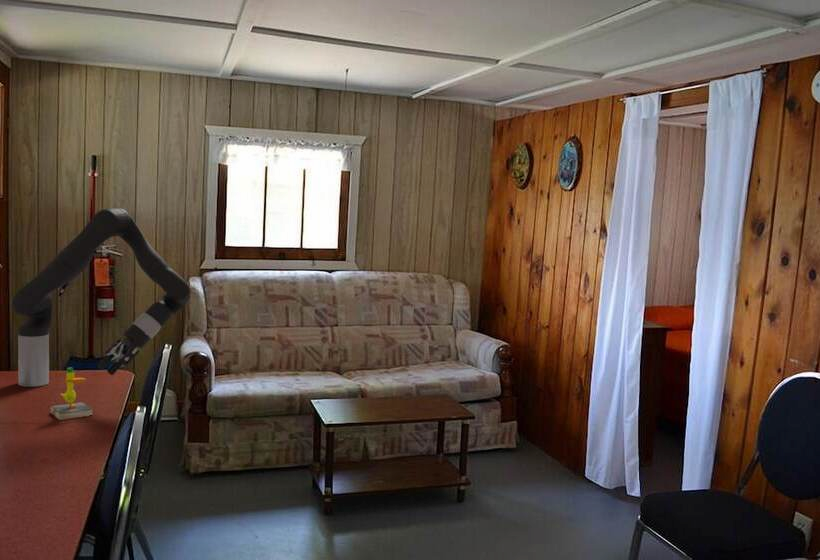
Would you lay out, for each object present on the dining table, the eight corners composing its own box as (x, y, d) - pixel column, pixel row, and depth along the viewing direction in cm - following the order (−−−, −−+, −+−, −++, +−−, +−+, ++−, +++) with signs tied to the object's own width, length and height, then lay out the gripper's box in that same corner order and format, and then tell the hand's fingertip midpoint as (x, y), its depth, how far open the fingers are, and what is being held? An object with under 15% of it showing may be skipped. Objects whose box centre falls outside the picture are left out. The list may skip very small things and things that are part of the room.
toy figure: (85, 405, 212) (85, 366, 211) (85, 408, 209) (85, 368, 208) (60, 406, 210) (60, 366, 209) (59, 409, 206) (60, 369, 205)
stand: (50, 412, 210) (50, 406, 209) (82, 408, 216) (82, 401, 215) (59, 420, 203) (59, 413, 203) (92, 415, 209) (92, 408, 209)
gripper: (125, 319, 225) (87, 358, 218) (142, 326, 214) (103, 367, 207) (142, 334, 229) (105, 373, 222) (159, 342, 218) (121, 382, 211)
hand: (104, 370), depth 215 cm, fingers open, 8 cm apart
